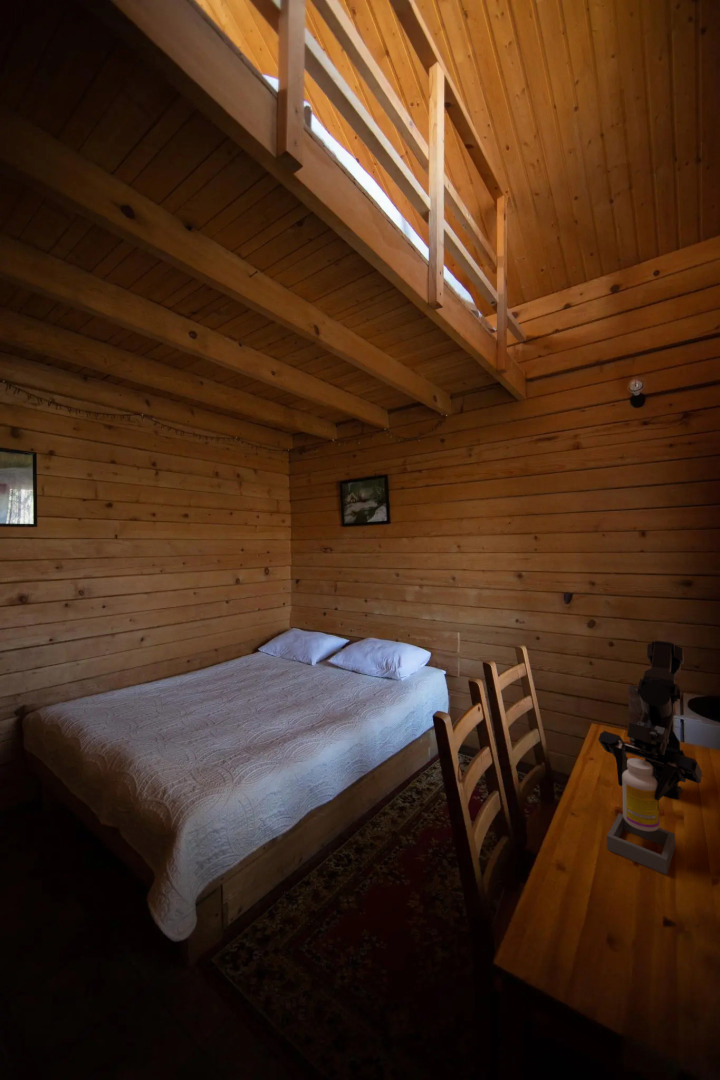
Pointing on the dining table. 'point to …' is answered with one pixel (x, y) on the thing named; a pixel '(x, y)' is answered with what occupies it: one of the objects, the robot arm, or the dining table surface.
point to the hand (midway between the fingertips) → (637, 792)
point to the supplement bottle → (640, 795)
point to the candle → (634, 705)
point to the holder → (637, 852)
